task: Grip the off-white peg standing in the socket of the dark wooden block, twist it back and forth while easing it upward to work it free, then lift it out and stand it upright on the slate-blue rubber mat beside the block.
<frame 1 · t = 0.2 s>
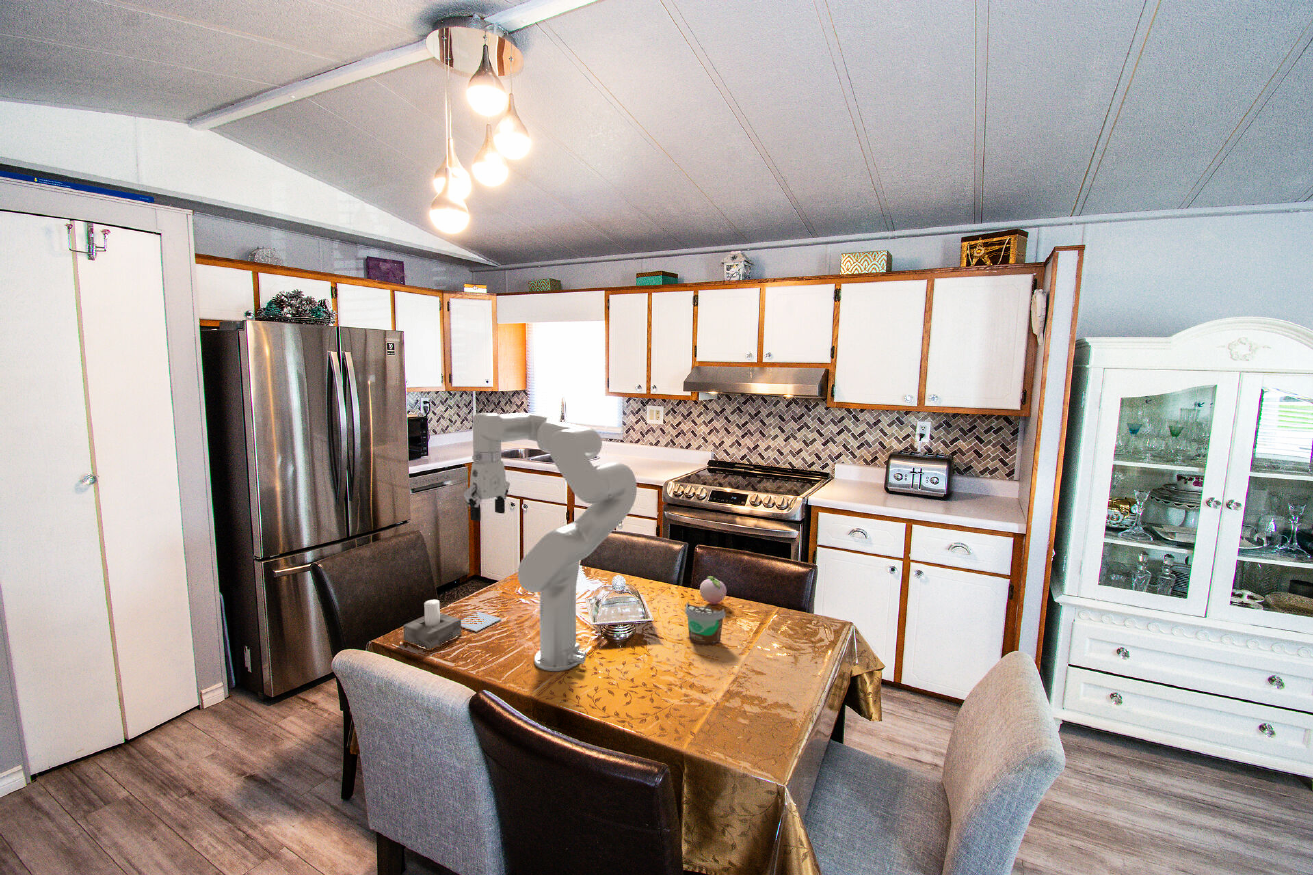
hand: (488, 516, 157), 36 cm above the table, tool pointing down, fingers open, 9 cm apart
socket block: (433, 638, 161), on the table
food container: (701, 642, 161), on the table
peg: (432, 620, 160), in the socket block
decorative fruit: (712, 605, 187), on the table
mat: (477, 622, 171), on the table
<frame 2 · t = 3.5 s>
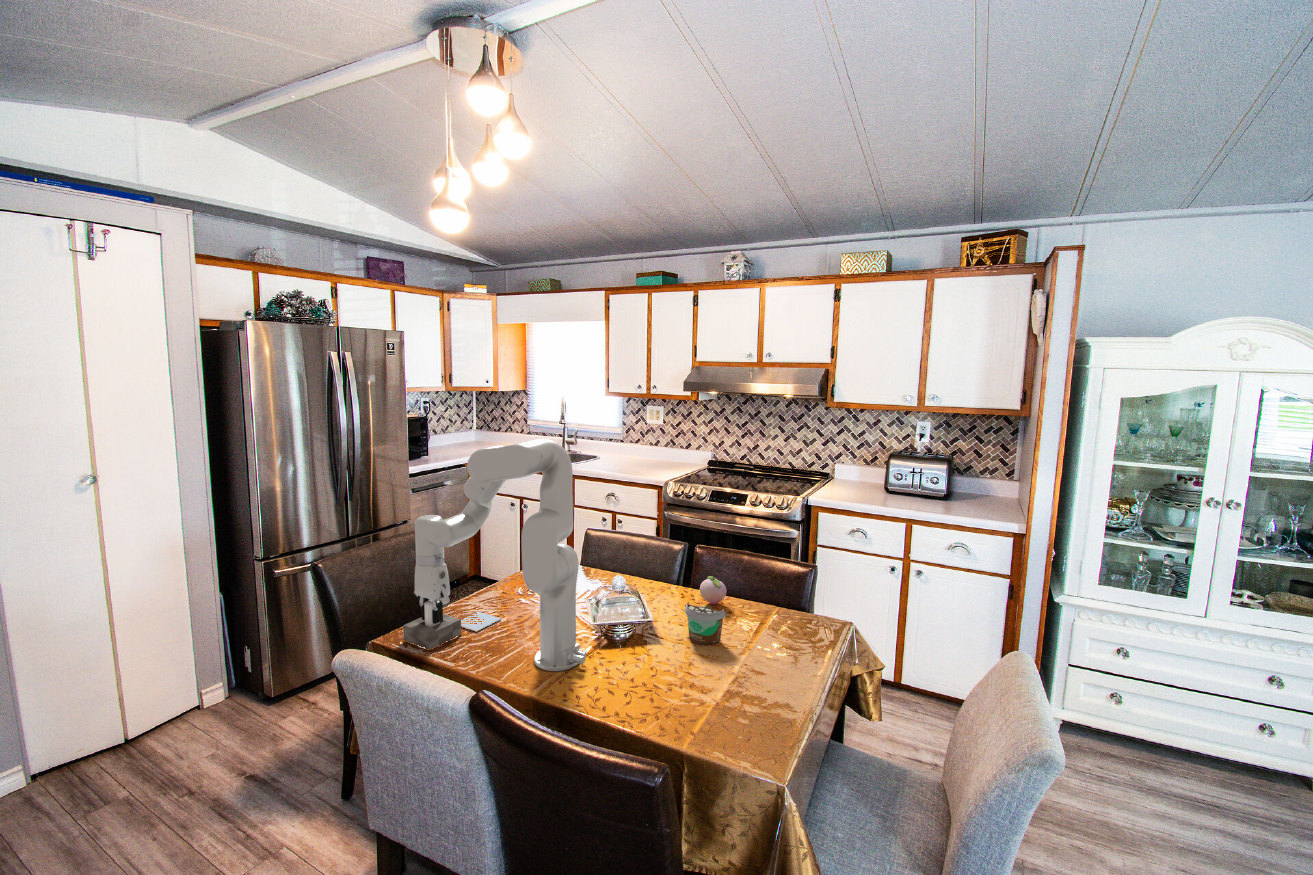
hand: (432, 619, 160), 6 cm above the table, tool pointing down, fingers closed on peg, 4 cm apart
peg: (432, 620, 160), in the socket block, touching gripper
everything else where it was.
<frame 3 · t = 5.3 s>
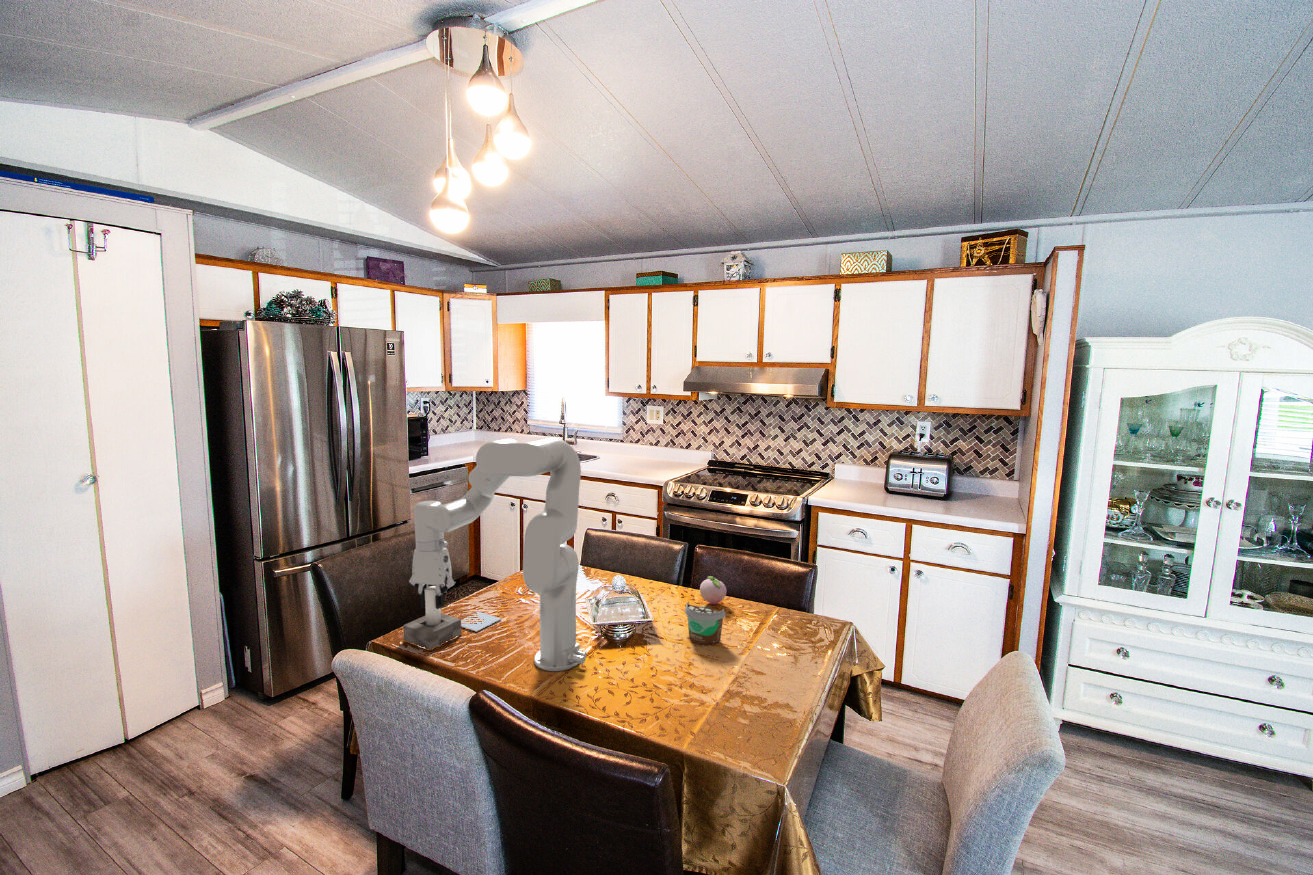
hand: (432, 605, 160), 10 cm above the table, tool pointing down, fingers closed on peg, 4 cm apart
peg: (432, 606, 160), point 10 cm above the table, touching gripper
everything else where it was.
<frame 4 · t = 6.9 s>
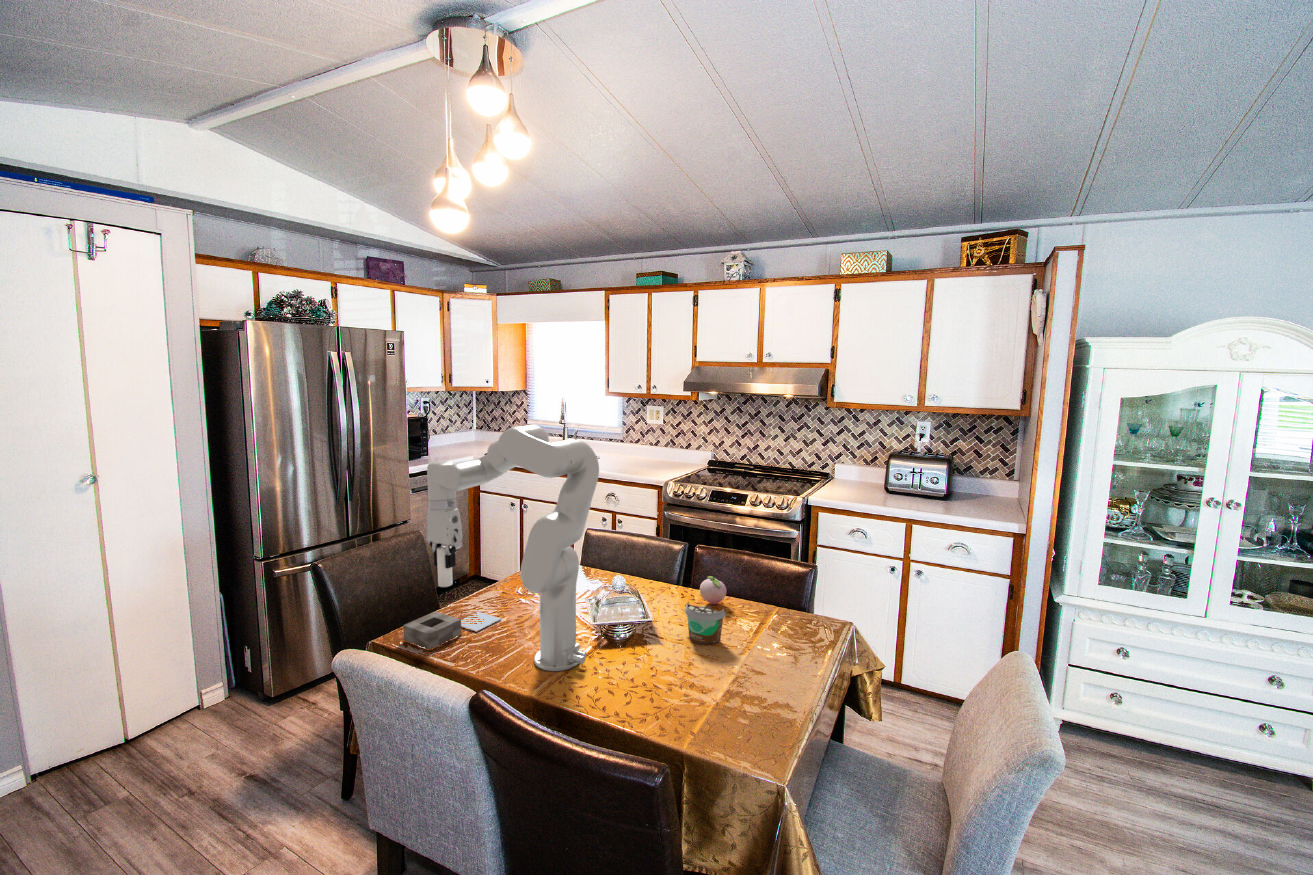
hand: (444, 565, 162), 21 cm above the table, tool pointing down, fingers closed on peg, 4 cm apart
peg: (444, 566, 162), point 21 cm above the table, touching gripper
everything else where it was.
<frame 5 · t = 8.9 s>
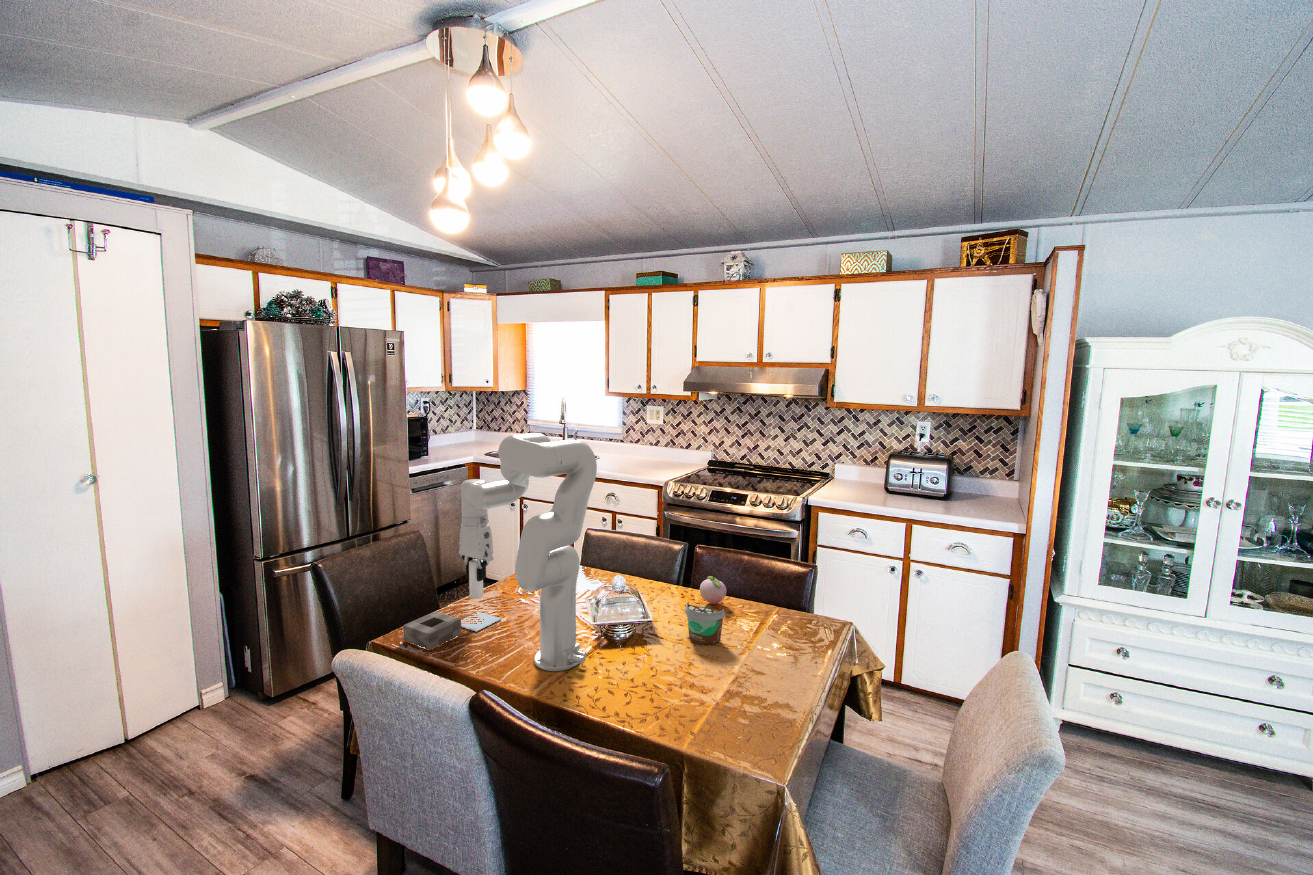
hand: (476, 577, 170), 14 cm above the table, tool pointing down, fingers closed on peg, 4 cm apart
peg: (476, 578, 170), point 14 cm above the table, touching gripper
everything else where it was.
when the fingers open (8 cm above the table, at t = 10.4 s): peg drops 1 cm, resting on mat.
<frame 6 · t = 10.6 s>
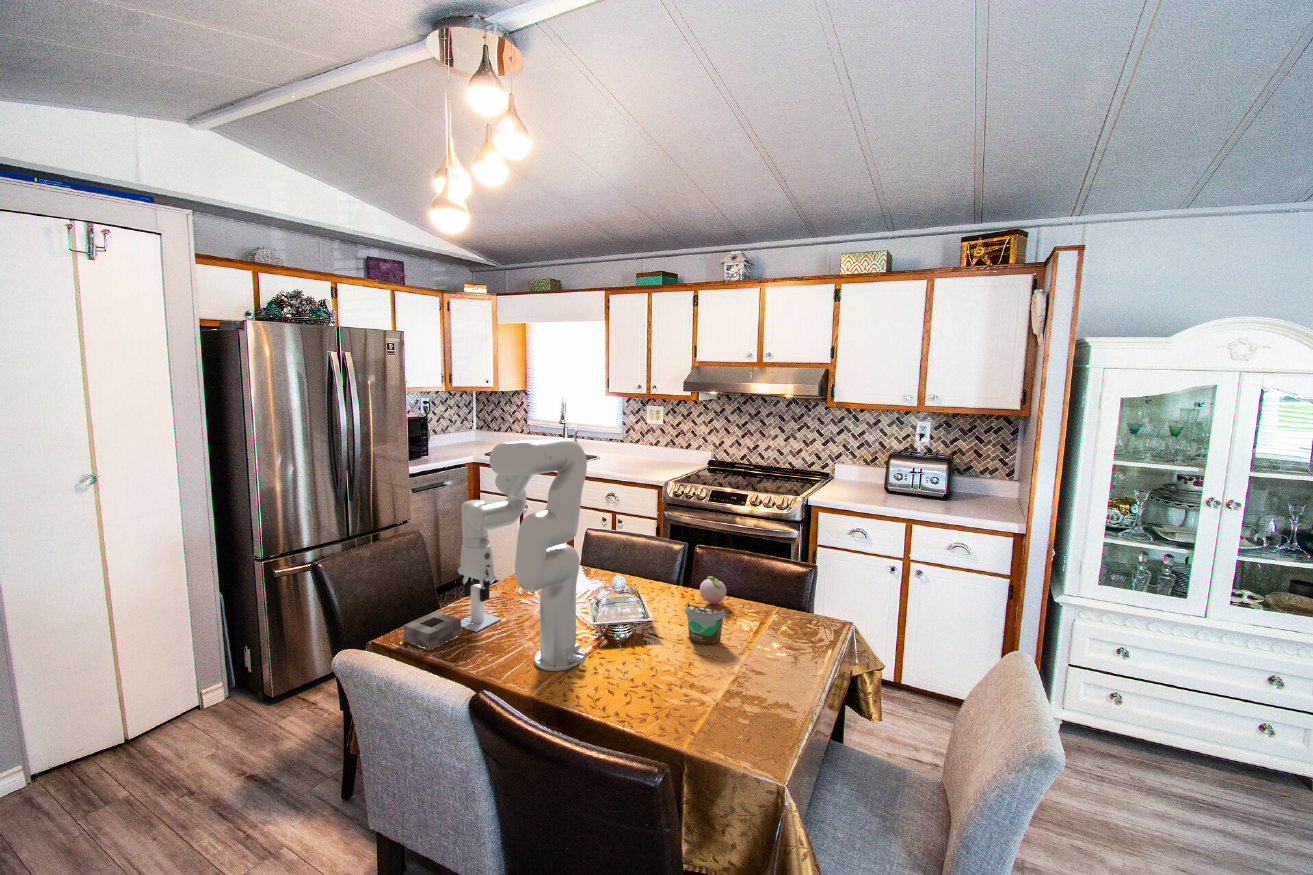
hand: (477, 597, 171), 8 cm above the table, tool pointing down, fingers open, 6 cm apart
peg: (477, 603, 171), on the mat, point 6 cm above the table
everything else where it was.
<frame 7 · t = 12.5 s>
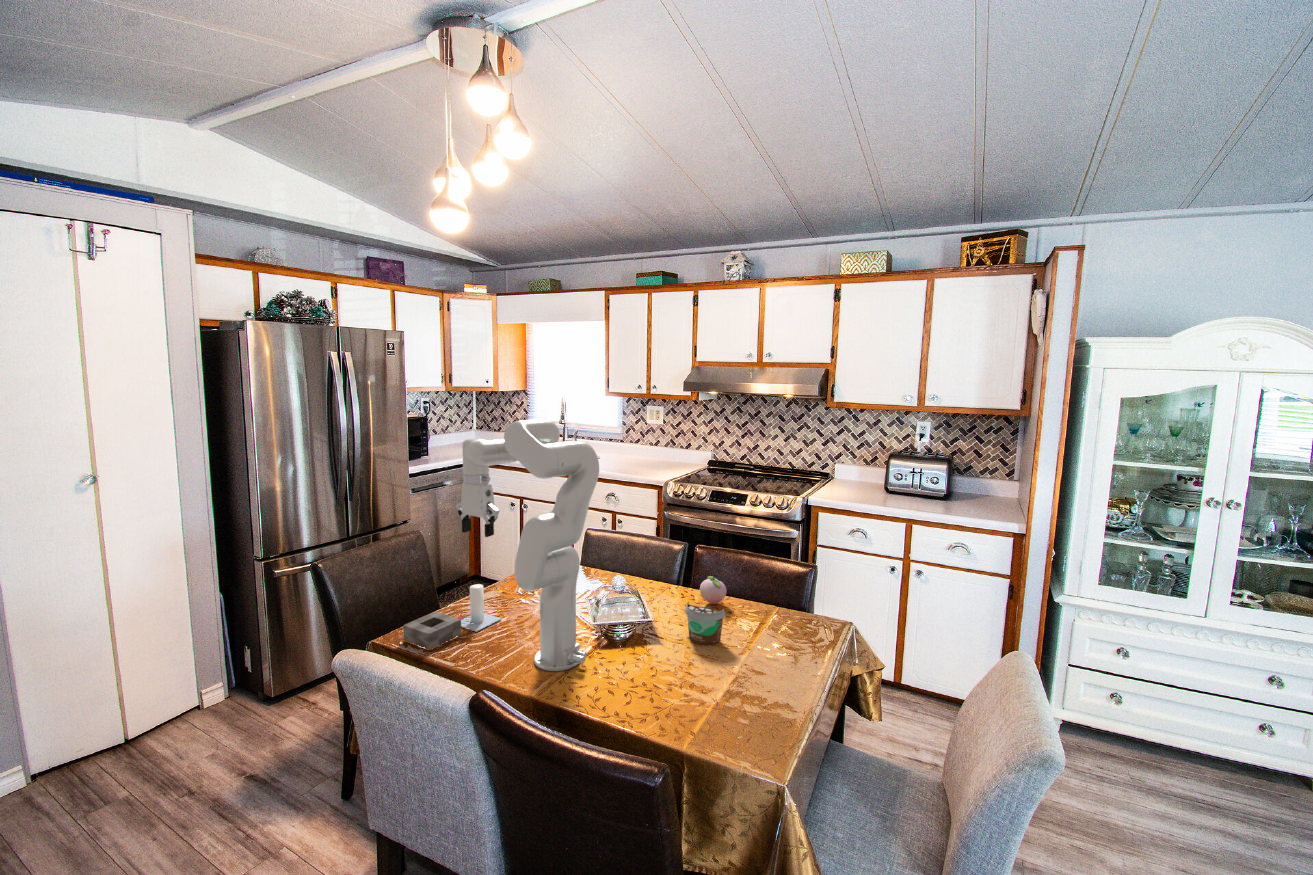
hand: (477, 533, 171), 28 cm above the table, tool pointing down, fingers open, 9 cm apart
nothing on the table moved.
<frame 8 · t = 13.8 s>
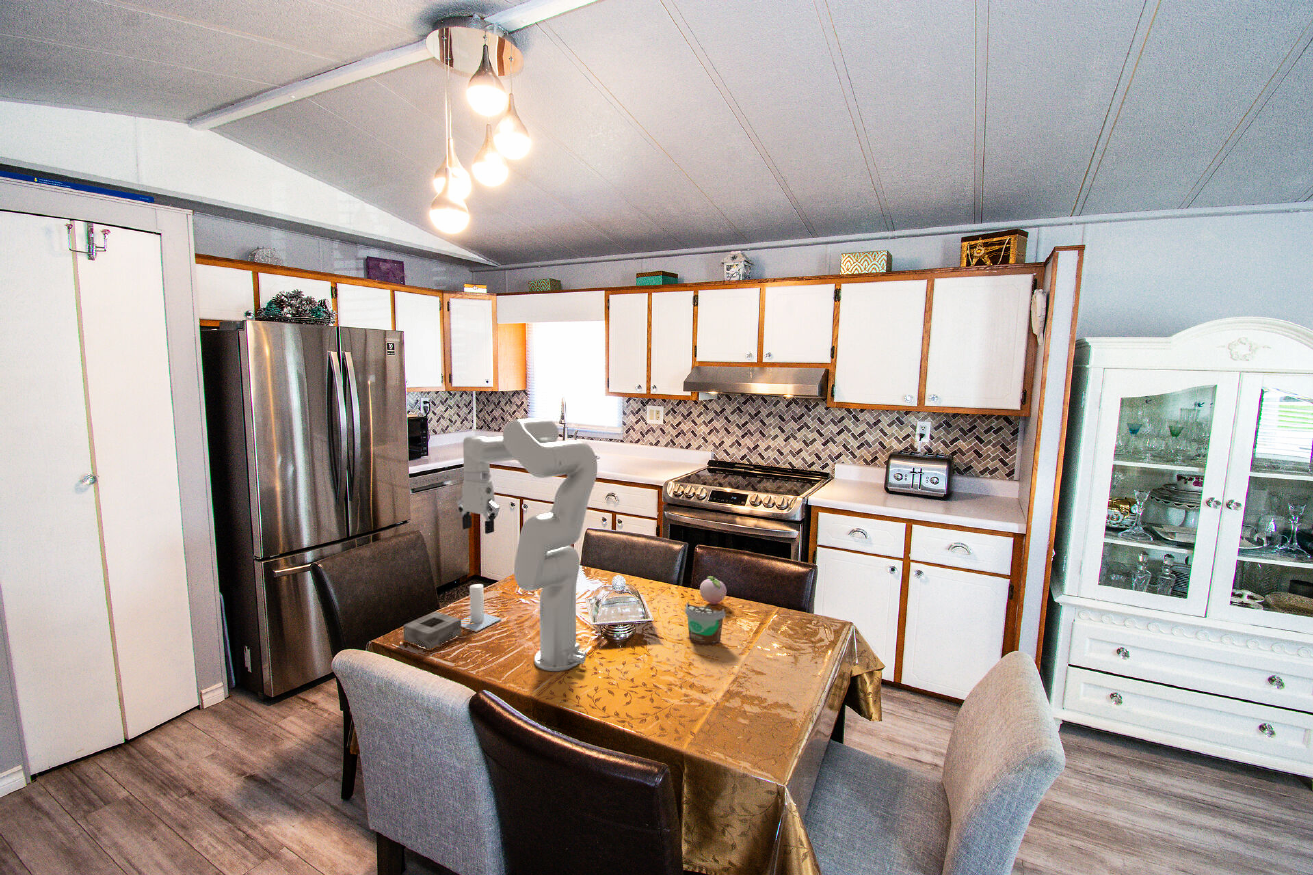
hand: (478, 530, 172), 28 cm above the table, tool pointing down, fingers open, 9 cm apart
nothing on the table moved.
at the end: peg inside the target area on the mat (0.1 cm from its centre), point 6.1 cm above the mat's base; peg tilted 1°; the gripper is holding nothing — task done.
